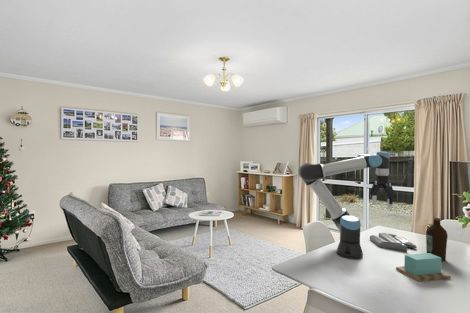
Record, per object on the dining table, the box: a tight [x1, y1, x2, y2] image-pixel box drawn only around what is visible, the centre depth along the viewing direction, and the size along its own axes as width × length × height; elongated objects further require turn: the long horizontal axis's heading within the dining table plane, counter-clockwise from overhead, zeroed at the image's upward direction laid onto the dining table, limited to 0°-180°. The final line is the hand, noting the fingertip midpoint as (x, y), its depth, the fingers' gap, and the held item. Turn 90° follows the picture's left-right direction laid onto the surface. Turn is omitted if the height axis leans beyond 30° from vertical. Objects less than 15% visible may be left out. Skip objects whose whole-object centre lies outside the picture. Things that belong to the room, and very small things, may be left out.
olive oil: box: [425, 217, 449, 262], centre depth 165 cm, size 11×11×25 cm
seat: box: [395, 266, 452, 282], centre depth 143 cm, size 20×14×4 cm
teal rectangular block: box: [404, 252, 442, 275], centre depth 143 cm, size 16×7×8 cm, turn 102°
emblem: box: [369, 232, 418, 253], centre depth 190 cm, size 28×5×28 cm
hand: (381, 207), depth 178 cm, fingers open, 13 cm apart
